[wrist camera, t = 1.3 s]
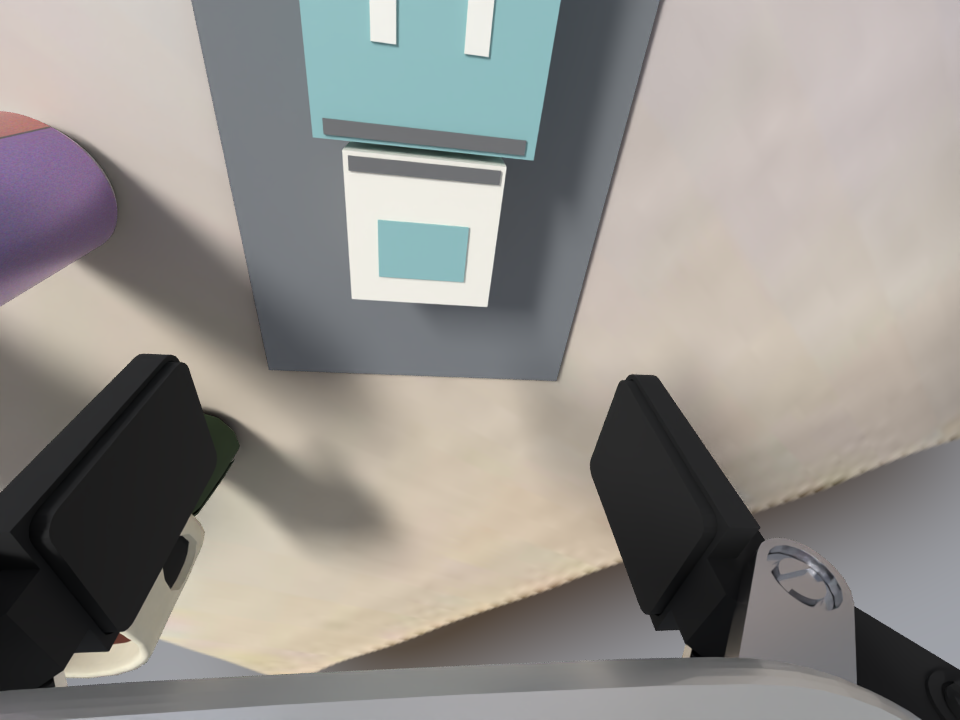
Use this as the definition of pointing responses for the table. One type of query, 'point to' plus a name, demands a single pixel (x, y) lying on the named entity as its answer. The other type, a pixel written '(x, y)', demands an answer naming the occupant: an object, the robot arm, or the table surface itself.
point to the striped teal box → (430, 72)
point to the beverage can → (47, 203)
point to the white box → (421, 223)
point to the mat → (322, 208)
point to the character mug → (160, 581)
